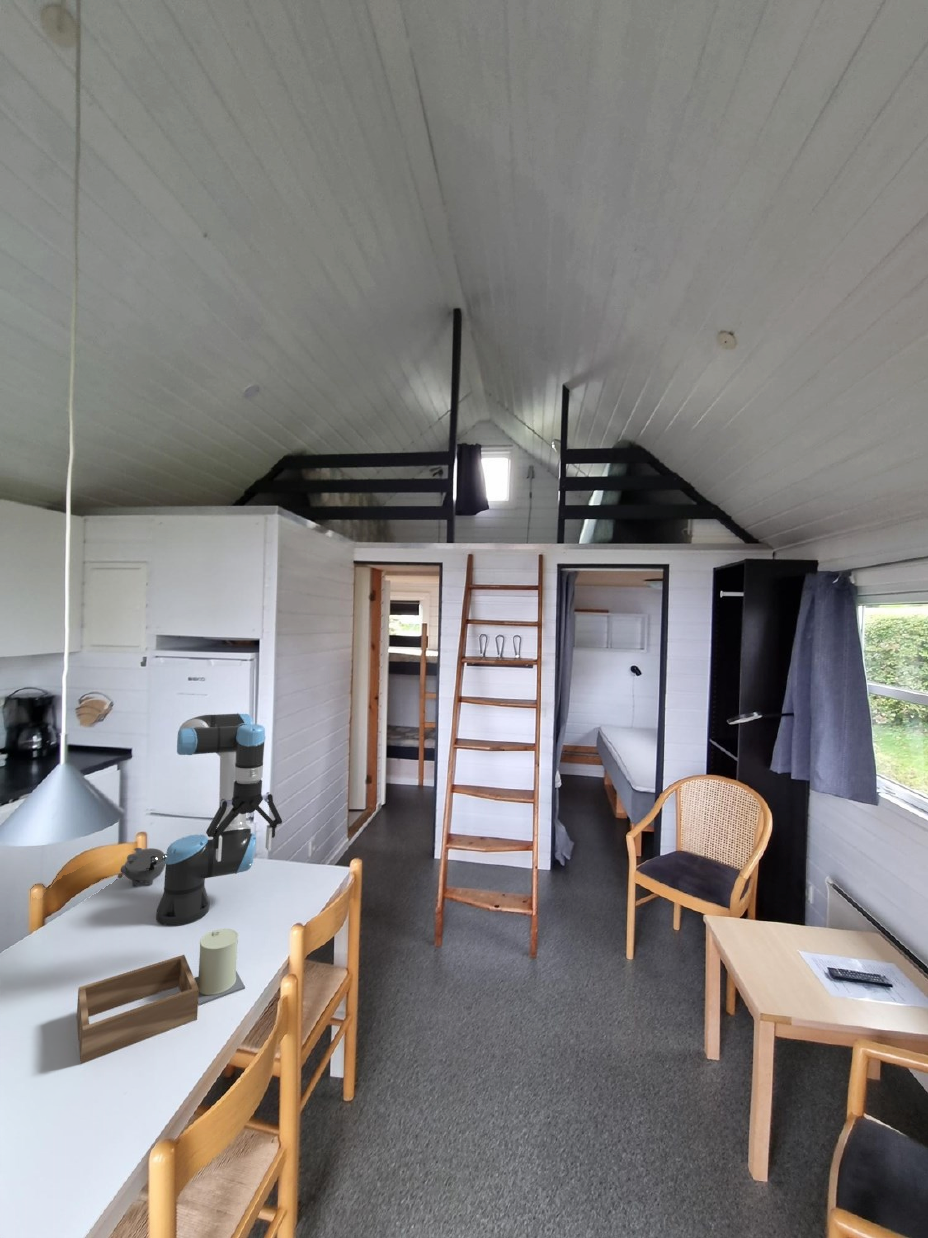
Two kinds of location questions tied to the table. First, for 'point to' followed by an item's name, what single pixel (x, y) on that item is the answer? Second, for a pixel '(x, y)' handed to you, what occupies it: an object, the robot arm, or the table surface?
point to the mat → (208, 998)
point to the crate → (139, 1020)
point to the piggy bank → (144, 865)
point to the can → (217, 961)
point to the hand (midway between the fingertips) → (243, 854)
